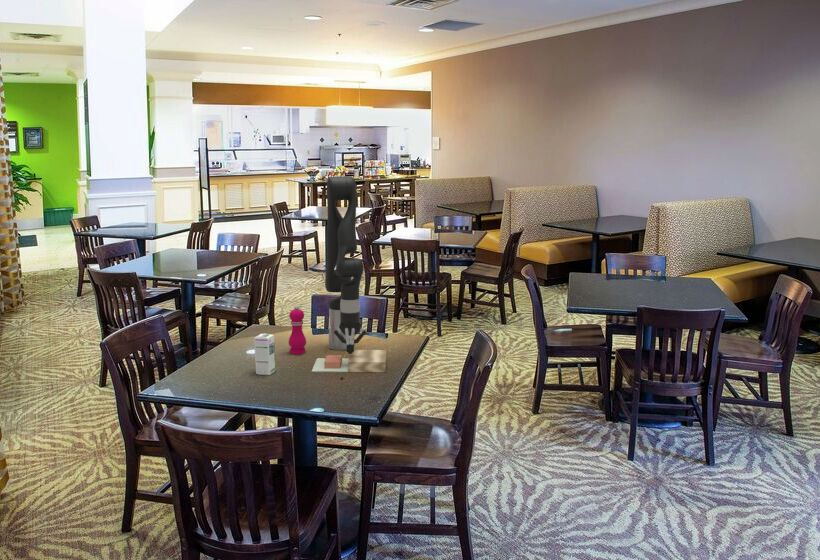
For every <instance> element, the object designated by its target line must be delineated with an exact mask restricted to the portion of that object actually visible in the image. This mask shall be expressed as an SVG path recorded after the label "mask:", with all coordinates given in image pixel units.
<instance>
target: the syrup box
mask: <svg viewBox="0 0 820 560" xmlns="http://www.w3.org/2000/svg"><path fill="white" fill-rule="evenodd" d="M253 339H254V361H255V362H254V363H255V373H256V375H259V376H261V375H263V376H271V375H272V374H273V373H274V372H276V371H277V369H276V368H277V367H276V365H277V364H276V347H275V346H276V345H275V334H273V333H260V334H258V335H257V336H255V337H253Z"/></svg>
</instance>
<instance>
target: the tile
mask: <svg viewBox="0 0 820 560" xmlns="http://www.w3.org/2000/svg"><path fill="white" fill-rule="evenodd" d="M325 358H326V359H325V362H324V368H340V367H341V364H342V358H343V355H341V354H327V355H325Z"/></svg>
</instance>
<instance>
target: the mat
mask: <svg viewBox="0 0 820 560" xmlns="http://www.w3.org/2000/svg"><path fill="white" fill-rule="evenodd" d="M325 359H326V357H325V358H323V357H321V358H320V357H318V358H316V360H315V362H314V364H313V367H312V370H311V372H312V373H349V372H348V360H349V357H347V358H345V357H342V364H341V367H340V368H324V362H325Z"/></svg>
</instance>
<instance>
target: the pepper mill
mask: <svg viewBox="0 0 820 560" xmlns="http://www.w3.org/2000/svg"><path fill="white" fill-rule="evenodd" d="M299 308H300V307H299V306H298V305H294V309H292V310H290V312H289V319H290V320H291V321H290V325H291V334H290V336H289V338H288V346H289V347H290V348H289V352H290V354H291V355H303V354H305V353H306V347H305V346H306V344H307V339H306V336H305V334H304V332H303V324H304V320H303V319H304V318H305V313H304V311H303V310H302V309H299Z"/></svg>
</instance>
